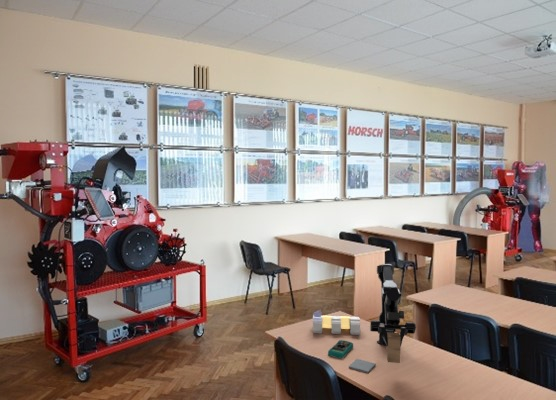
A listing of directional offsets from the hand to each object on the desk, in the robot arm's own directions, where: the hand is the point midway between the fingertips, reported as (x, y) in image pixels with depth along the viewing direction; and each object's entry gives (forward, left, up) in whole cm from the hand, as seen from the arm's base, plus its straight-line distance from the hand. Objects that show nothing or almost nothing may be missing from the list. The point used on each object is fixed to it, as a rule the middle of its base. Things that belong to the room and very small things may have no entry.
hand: (393, 346), depth 177 cm
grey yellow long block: (-22, -50, -14) cm, 57 cm away
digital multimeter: (-4, -32, -14) cm, 35 cm away
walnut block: (-1, -1, -7) cm, 7 cm away
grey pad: (+2, -15, -13) cm, 20 cm away
